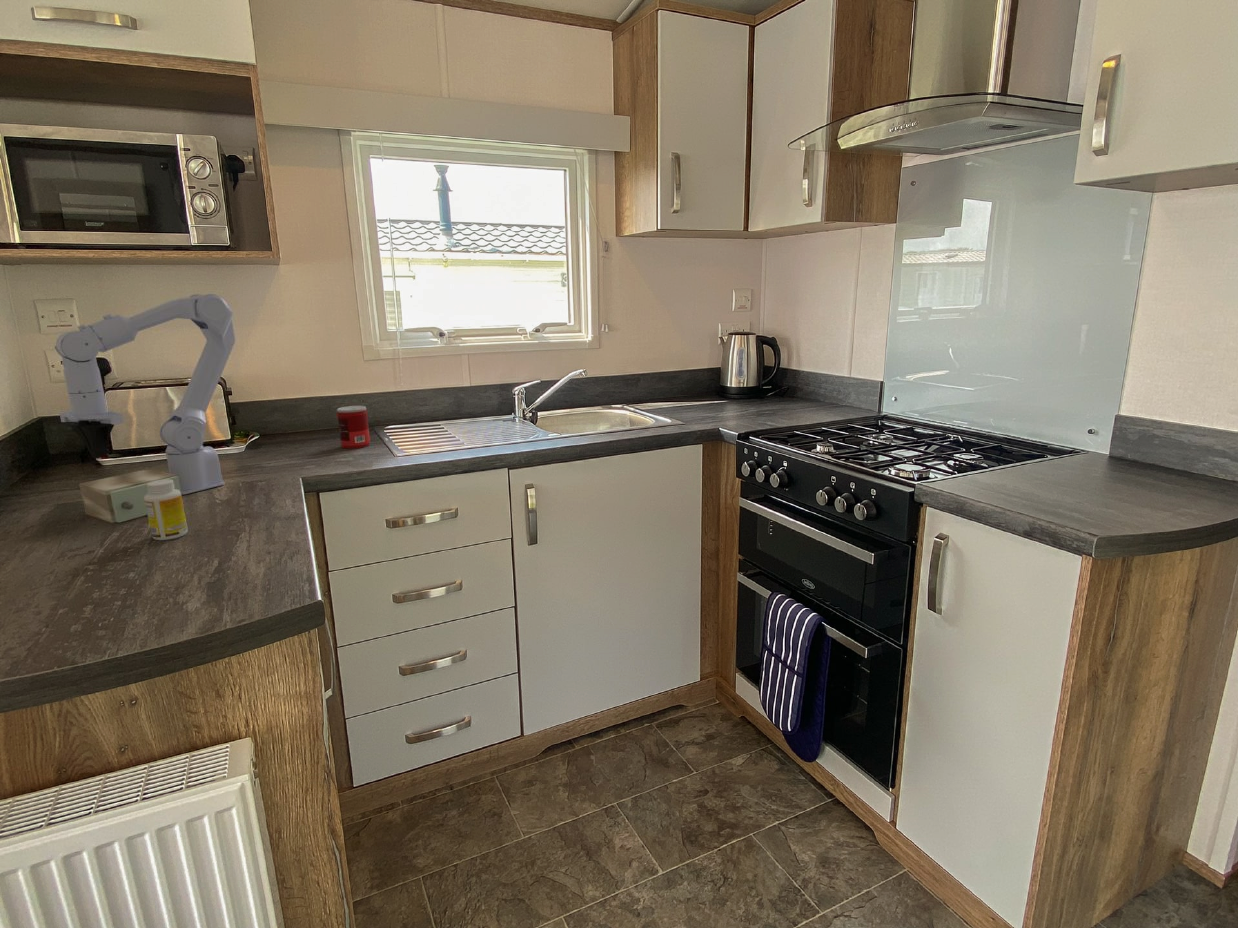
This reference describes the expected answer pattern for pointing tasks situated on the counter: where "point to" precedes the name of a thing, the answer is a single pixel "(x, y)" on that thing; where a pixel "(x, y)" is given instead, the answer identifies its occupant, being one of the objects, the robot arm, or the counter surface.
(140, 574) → the counter surface
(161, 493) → the supplement bottle
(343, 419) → the canned food
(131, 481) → the cabinet
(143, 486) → the door
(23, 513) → the counter surface
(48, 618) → the counter surface
